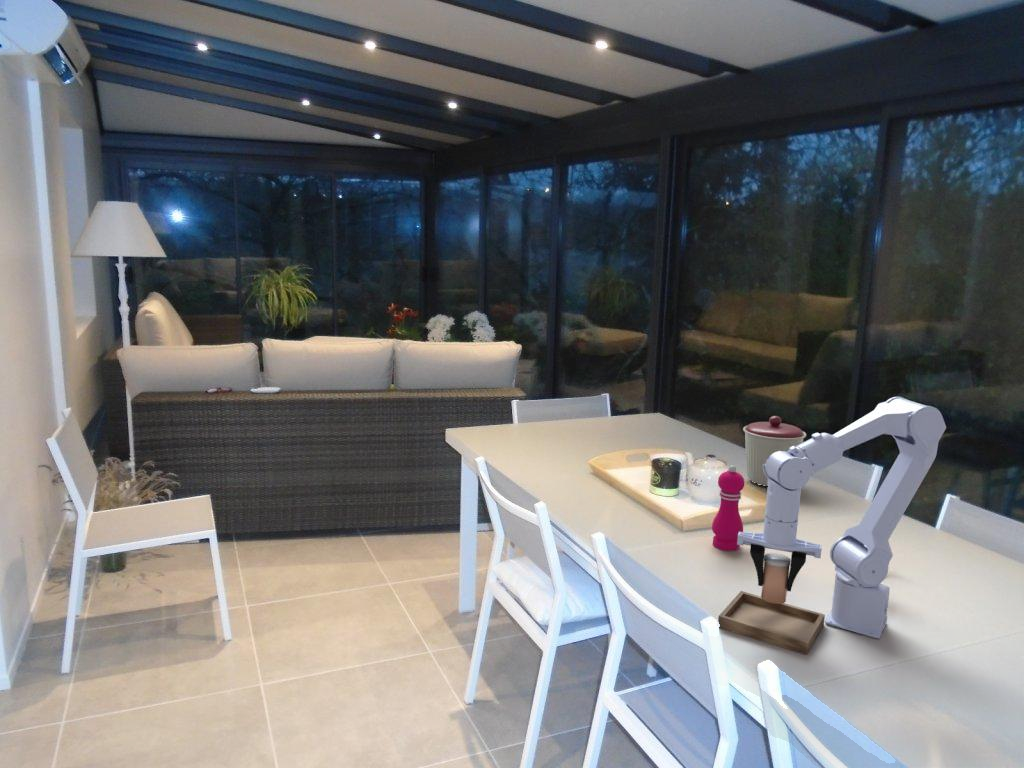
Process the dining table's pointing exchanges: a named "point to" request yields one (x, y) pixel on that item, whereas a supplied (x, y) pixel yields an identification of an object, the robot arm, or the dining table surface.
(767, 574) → the terracotta shaker
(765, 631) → the walnut tray
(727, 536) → the pepper mill
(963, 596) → the dining table surface
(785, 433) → the canister
